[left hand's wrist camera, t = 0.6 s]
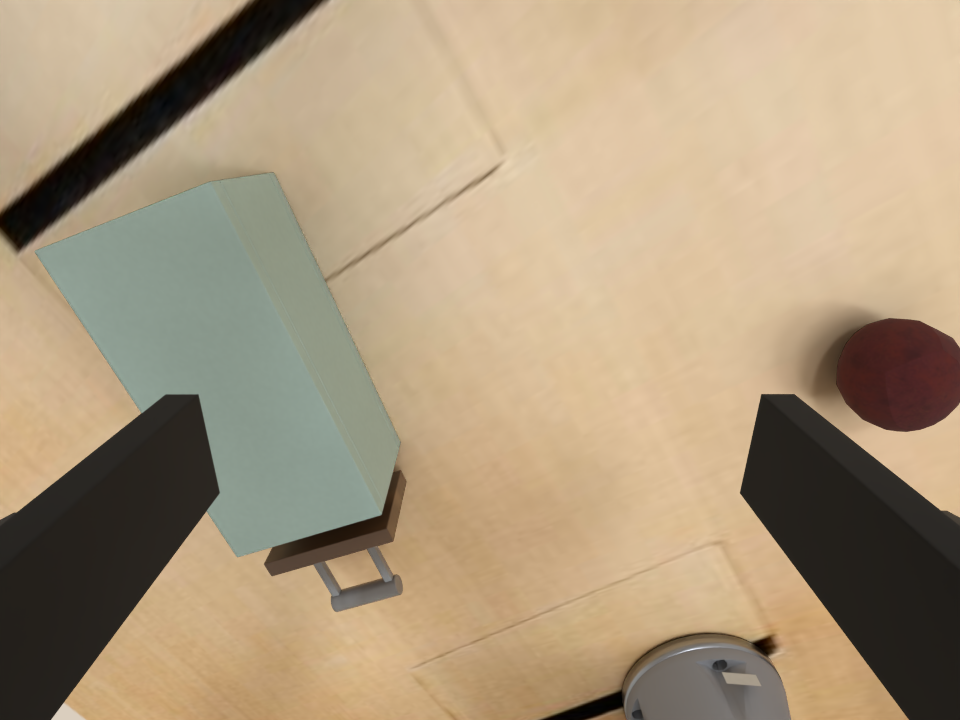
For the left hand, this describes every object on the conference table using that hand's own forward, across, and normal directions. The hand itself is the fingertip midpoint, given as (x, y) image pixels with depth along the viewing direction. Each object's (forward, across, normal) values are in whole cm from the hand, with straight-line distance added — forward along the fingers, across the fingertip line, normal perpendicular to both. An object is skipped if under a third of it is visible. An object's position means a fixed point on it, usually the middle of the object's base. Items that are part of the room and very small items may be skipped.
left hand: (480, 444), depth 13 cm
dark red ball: (+26, +29, -8) cm, 40 cm away
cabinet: (+26, -15, -7) cm, 31 cm away
